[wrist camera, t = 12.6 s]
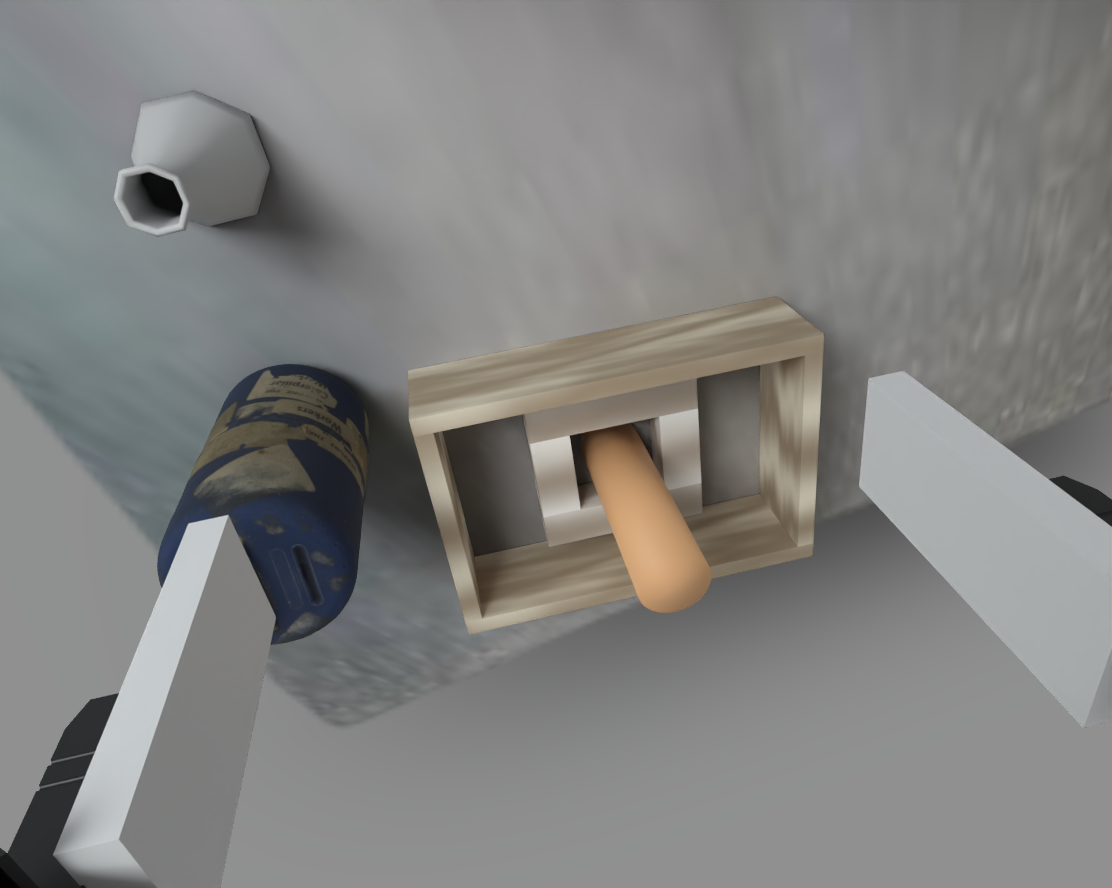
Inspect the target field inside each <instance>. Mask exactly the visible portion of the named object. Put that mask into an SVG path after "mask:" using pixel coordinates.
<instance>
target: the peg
mask: <svg viewBox="0 0 1112 888" xmlns="http://www.w3.org/2000/svg"><path fill="white" fill-rule="evenodd" d="M581 452H582V455H583V457H584V460H585V462H586V465H587V468H588V470H589V473H590V475H591V478H592V480H593V483H594V485H595V488H596V491H597V493H598V496H599V498H600V501H601V503H602V506H603V508H604V511H605V514H606V516H607V519H608V521H609V524H610V526H611V529H612V532H613V534H614V537H615V539H616V542H617V544H618V547H619V549H620V552H621V555H622V557H623V560H624V562H625V565H626V567H627V570H628V573H629V575H630V578H631V580H632V583H633V585H634V588H635V590H636V593H637V596H638V598H639V600H640V602H641V603H642V604H643V605H644V606H645V607H646V608H648V609H650V610H652V611H655V612H660V613H671V612H676V611H680V610H683V609H686V608H688V607H690V606H691V605H693V604H695V603H696V602H697V601H698V600H699V599H701V598H702V597H703V595H704V594H705V593H706V591H707V590H708V588H709V586H710V583H711V570H710V567H709V565H708V563H707V561H706V560H705V558H704V556H703V554H702V552H701V550H700V548H699V546H698V545H697V543H696V541H695V539H694V537H693V535H692V533H691V532H690V530H689V528H688V526H687V524H686V522H685V520H684V519H683V517H682V515H681V513H680V511H679V509H678V507H677V505H676V504H675V502H674V500H673V498H672V496H671V494H670V492H669V491H668V489H667V487H666V485H665V483H664V481H663V479H662V478H661V476H660V474H659V472H658V470H657V468H656V466H655V464H654V463H653V461H652V459H651V457H650V455H649V453H648V451H647V450H646V448H645V446H644V444H643V442H642V440H641V438H640V437H639V435H638V433H637V431H636V429H635V427H634V426H633V425H632V424H631V423H627V424H622V425H617V426H612V427H608V428H603V429H598V430H594V431H589V432H585V433H584V435H583V437H582V440H581Z"/></svg>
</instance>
